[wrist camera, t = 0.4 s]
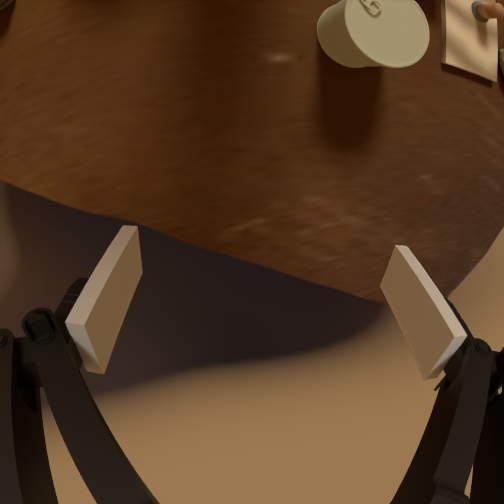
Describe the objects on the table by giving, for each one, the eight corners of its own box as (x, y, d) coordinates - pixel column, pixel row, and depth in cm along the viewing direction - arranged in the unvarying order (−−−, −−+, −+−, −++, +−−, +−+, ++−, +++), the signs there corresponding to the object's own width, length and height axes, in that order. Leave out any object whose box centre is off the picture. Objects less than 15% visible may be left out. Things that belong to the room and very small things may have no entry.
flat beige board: (436, -40, 21) (459, -49, 16) (489, -14, 21) (513, -17, 16) (441, 62, 31) (466, 64, 25) (491, 81, 31) (517, 87, 26)
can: (346, -9, 26) (384, -34, 16) (396, 39, 30) (447, 35, 20) (301, 33, 30) (324, 16, 20) (355, 81, 33) (396, 87, 23)
